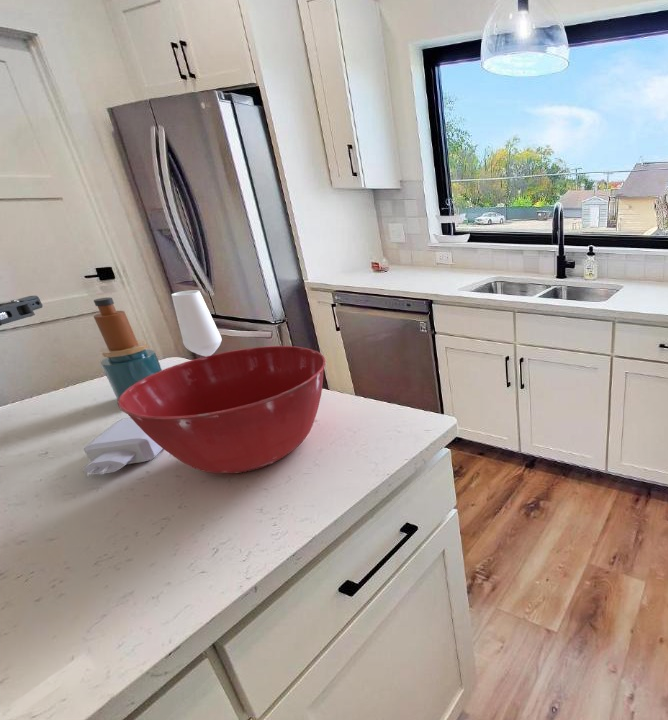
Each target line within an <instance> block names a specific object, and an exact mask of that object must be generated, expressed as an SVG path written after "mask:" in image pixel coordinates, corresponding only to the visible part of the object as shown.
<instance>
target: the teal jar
mask: <svg viewBox="0 0 668 720" xmlns="http://www.w3.org/2000/svg"><path fill="white" fill-rule="evenodd" d="M137 342H138V345H136V346H134V347H131V348H127V349H123V350H114V351H112V350H109V349H108V347H107V346H105V347H103V348H101V349H99V353H100V356H101V357H103V358H104V359H102V360H101V361H100V363H99V364H100V366H101V368H102V370H103V372H104V375H105V376H106V379H107V381H108V383H109V385H110V387H111V389H112V391H113V394H114V397H115V398H116V400H117V401H118V400H119V397H120V396H121V395H122V393H123V392H124V391H125V390H127V389H128V388H129V387H131V386H132V385H134V384H135V383H137V382H139V381H140V380H142V379H144V378H146V377H148V376H150V375H152V374H154V373H157V372H159V371H162V370H163V368H162V366H161V364H160V362H159V359H158V356H157V354H156V351H155V350H154V349H148V347H149V345H148V342H147V341H146V340H137Z"/></svg>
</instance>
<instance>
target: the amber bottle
mask: <svg viewBox="0 0 668 720" xmlns="http://www.w3.org/2000/svg"><path fill="white" fill-rule="evenodd" d="M93 303H94V305H95V307H97V308H98V311H99V313H97V314H94V315H93V319H94V321H95V323H96V326H97V328H98V330H99V332H100V334H101V337H102V338H103V341H104V343H105V345H106V347H108V349H109V350H112V351H114V350H123V349H127V348H131V347H134V346H136V345H138V342H137V341H138V340H137V338H136V335H135V333H134V331H133V328H132V326H131V324H130V321H129V319H128V316H127V314H126V312H125V310H117V309H116V307H115V305H114V304H115V302H114V299H113V297H110V296H109V297H101V298H96V299H93Z"/></svg>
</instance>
